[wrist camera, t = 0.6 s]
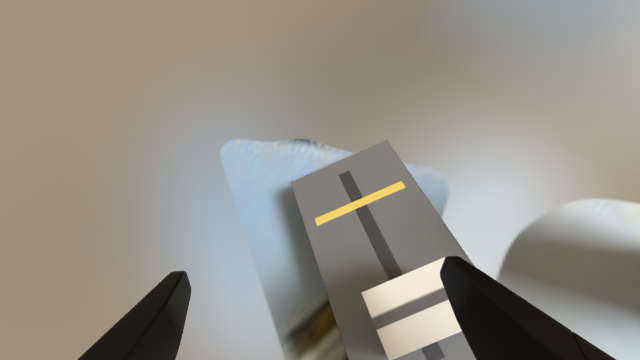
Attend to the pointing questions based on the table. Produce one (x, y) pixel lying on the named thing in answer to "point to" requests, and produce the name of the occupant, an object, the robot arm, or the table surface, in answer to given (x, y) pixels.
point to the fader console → (373, 242)
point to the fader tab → (411, 311)
